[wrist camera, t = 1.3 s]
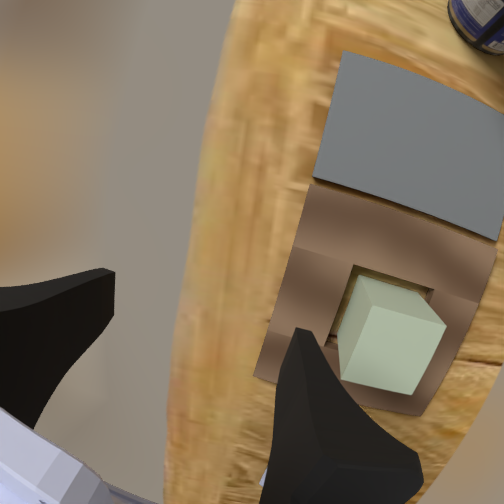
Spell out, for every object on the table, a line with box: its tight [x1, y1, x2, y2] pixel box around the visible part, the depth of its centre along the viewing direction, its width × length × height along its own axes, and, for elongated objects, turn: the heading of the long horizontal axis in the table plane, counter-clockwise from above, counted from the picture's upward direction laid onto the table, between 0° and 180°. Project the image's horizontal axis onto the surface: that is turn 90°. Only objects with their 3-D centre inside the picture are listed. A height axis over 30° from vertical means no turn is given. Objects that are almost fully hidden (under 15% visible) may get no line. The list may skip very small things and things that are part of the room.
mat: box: [312, 50, 504, 241], centre depth 18 cm, size 9×14×1 cm, turn 75°
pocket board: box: [253, 184, 498, 416], centre depth 20 cm, size 14×14×1 cm
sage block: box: [337, 275, 447, 395], centre depth 18 cm, size 4×4×6 cm
